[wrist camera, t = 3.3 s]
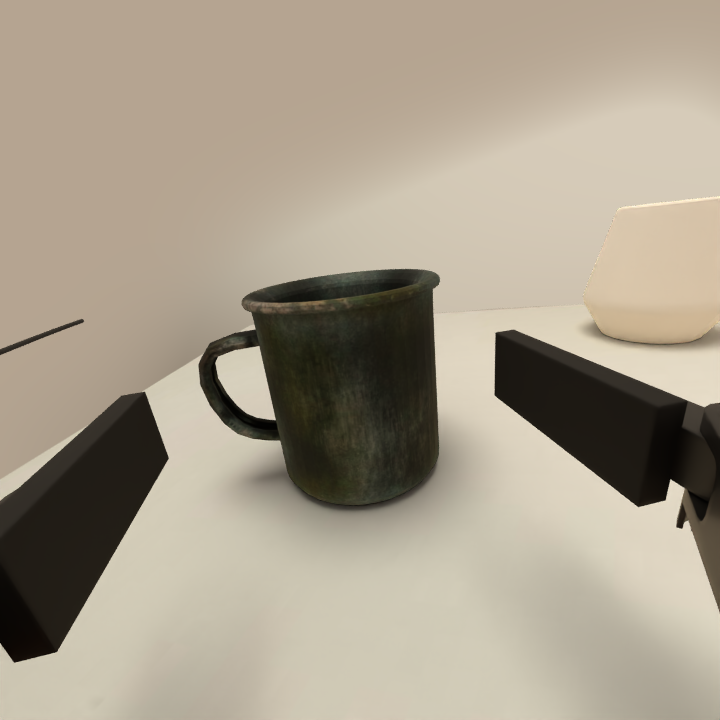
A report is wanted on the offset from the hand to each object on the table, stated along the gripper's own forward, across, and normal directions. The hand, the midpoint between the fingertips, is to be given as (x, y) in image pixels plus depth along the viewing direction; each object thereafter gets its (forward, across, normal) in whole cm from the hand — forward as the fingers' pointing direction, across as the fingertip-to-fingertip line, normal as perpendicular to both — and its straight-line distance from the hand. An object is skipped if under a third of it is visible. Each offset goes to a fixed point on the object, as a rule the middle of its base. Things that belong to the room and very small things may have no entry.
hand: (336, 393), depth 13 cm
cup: (+21, +38, -9) cm, 45 cm away
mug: (+8, 0, -9) cm, 12 cm away
